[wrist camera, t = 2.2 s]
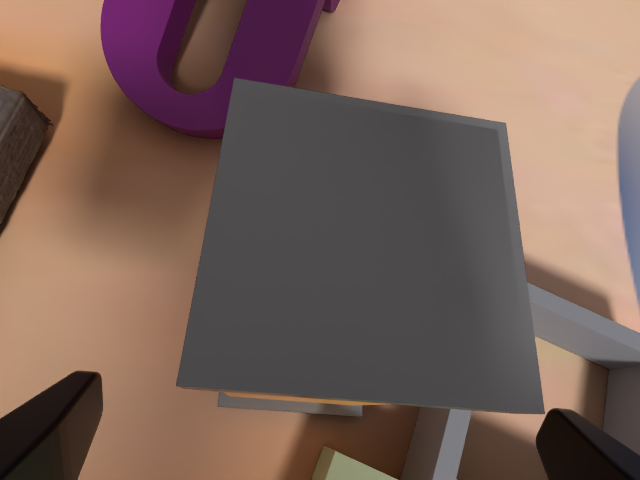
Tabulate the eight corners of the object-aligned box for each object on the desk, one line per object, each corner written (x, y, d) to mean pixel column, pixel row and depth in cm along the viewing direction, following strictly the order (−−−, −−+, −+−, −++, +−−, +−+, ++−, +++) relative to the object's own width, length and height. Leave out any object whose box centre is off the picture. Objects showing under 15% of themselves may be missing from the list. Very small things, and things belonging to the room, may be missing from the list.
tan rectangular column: (357, 416, 18) (559, 429, 6) (218, 406, 17) (157, 400, 5) (360, 285, 20) (514, 116, 8) (239, 271, 19) (225, 67, 8)
